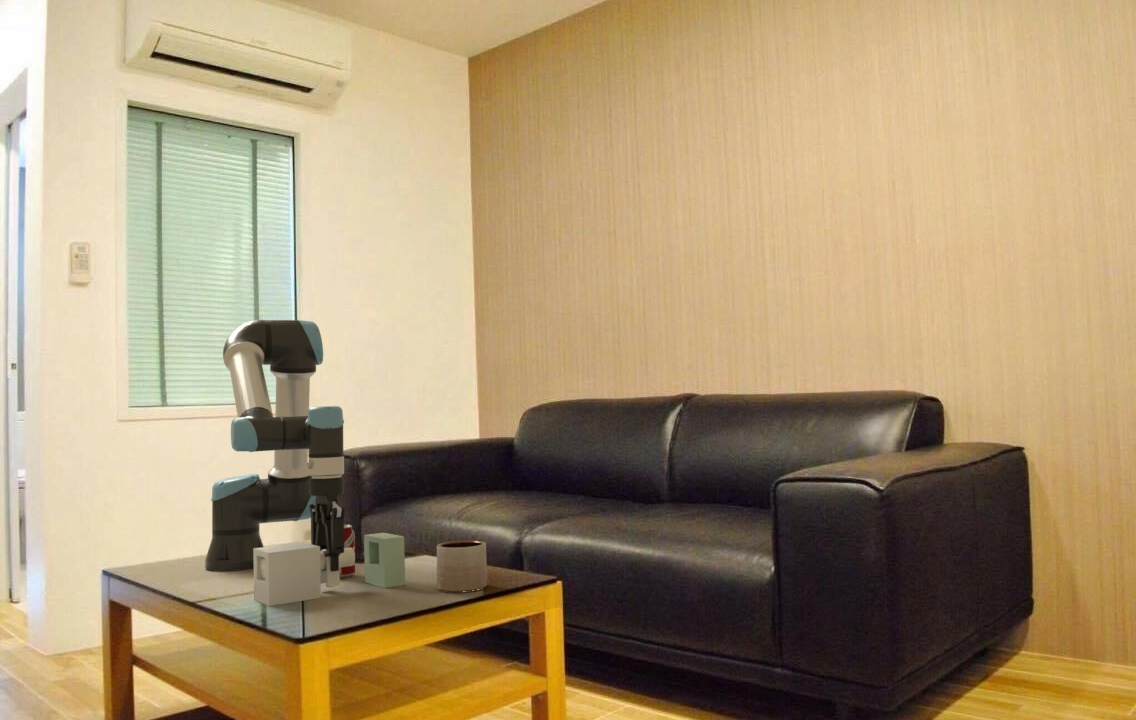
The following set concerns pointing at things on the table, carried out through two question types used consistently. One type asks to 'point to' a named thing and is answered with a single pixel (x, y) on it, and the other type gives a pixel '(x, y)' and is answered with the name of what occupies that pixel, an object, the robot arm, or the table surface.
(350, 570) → the soda can
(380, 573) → the socket block
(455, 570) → the planter
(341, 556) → the slip tube
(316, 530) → the robot arm
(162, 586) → the table surface
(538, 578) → the table surface
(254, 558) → the sleeve block
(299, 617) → the table surface
